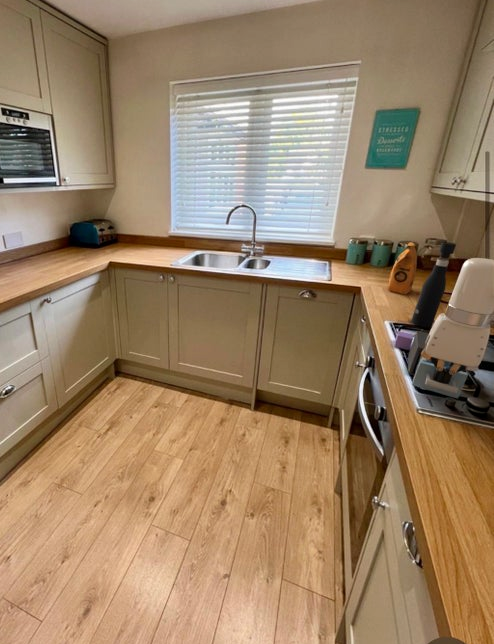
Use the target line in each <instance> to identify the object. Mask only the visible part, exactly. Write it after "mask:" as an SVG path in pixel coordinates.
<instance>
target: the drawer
mask: <svg viewBox="0 0 494 644" xmlns="http://www.w3.org/2000/svg"><path fill="white" fill-rule="evenodd" d="M421 352H422V351H420V353H419V356H418V359H417V362H416V365H415V376H413V378H412V382H411V385H412V386H413V387H417V388H419V389H420V388H421V389H424V390H427V391H431V392H434V393H438V394H440V395H444V396H448V397H451V398H455V399H459V397H460V394H461V392H462V389H463V388H464V385H465V383H466V381H467V378H468V376H469V375H468V372H465V371H463V372H462V371H460V372H457V373H455V374H454V375H452V377H451V379H450V382H449V384H443V383H439V382H436V381H435V380H433V375H434V373H435V370H436V367H435V366H434V364H433V363H432V362H431V361H430V360H427V359H425V358H423V357H421ZM450 363H451V362H449V361H444V368H446V367H448V366H449V364H450Z"/></svg>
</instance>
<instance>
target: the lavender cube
mask: <svg viewBox="0 0 494 644" xmlns="http://www.w3.org/2000/svg"><path fill="white" fill-rule="evenodd" d="M413 340H414V337H413V334H412V333H409V332H405V331H401V330H398V331H397V334H396V336H395V339H394V347H395V348H398V349H403V350H405V351H410V349H411V346H412V343H413Z"/></svg>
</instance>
